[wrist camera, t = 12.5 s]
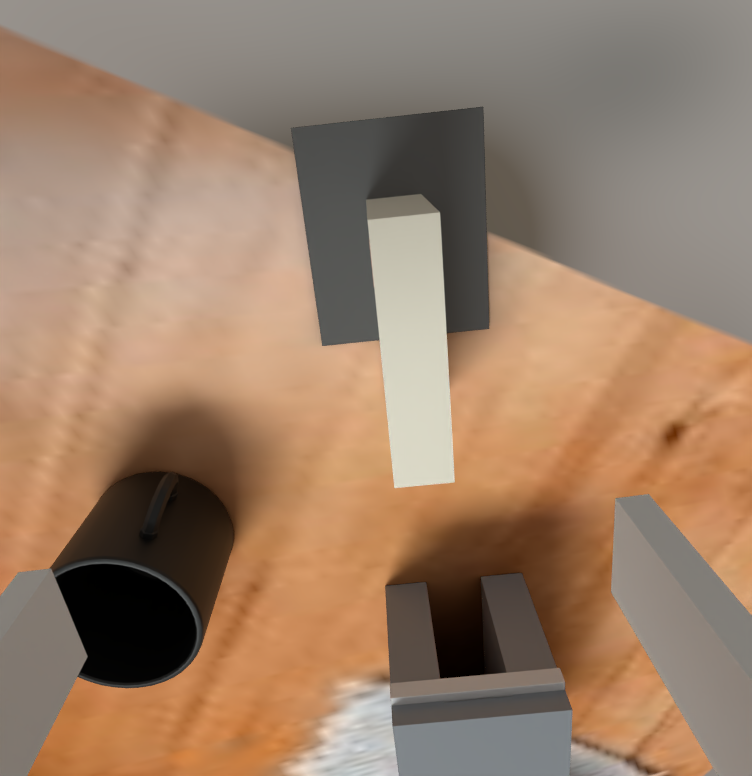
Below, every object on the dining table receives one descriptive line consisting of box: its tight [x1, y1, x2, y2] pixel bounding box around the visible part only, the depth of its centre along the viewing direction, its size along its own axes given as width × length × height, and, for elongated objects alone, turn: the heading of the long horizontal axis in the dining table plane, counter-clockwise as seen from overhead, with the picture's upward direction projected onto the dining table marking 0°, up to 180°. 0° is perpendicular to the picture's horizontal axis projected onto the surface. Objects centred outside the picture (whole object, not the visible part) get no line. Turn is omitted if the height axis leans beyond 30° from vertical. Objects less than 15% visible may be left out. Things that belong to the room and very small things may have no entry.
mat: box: [291, 107, 489, 346], centre depth 33 cm, size 10×12×1 cm
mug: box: [50, 472, 234, 688], centre depth 36 cm, size 9×12×9 cm
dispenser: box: [385, 573, 572, 776], centre depth 41 cm, size 10×17×11 cm, turn 6°
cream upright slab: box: [366, 194, 455, 488], centre depth 31 cm, size 3×13×8 cm, turn 5°
